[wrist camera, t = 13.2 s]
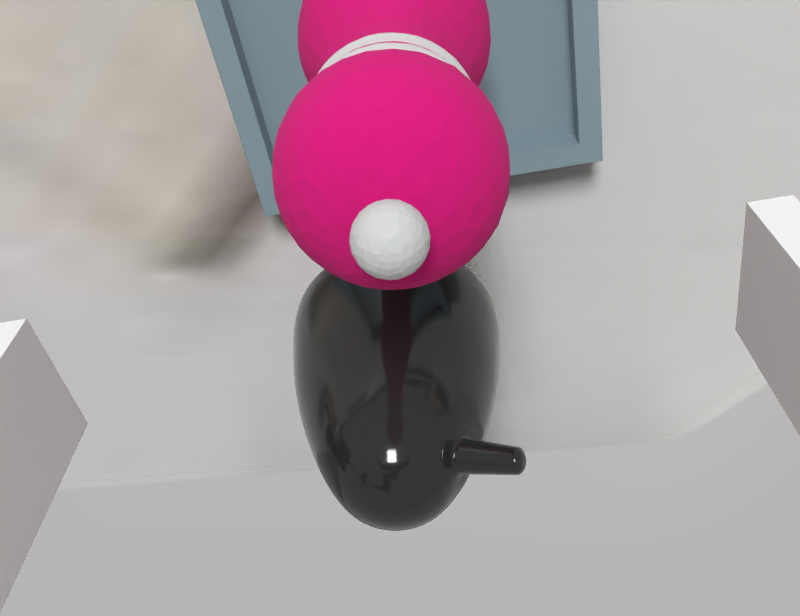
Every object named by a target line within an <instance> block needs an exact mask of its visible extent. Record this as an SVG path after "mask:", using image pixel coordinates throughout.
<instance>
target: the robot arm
mask: <svg viewBox="0 0 800 616" xmlns="http://www.w3.org/2000/svg"><path fill="white" fill-rule="evenodd" d="M736 331H737V333H738V334H739V336H740V338H741V339H742V341H743V343H744V344H745V346H746V348H747V349H748V351H749V353H750V354H751V356H752V358H753V359H754V361H755V363H756V364H757V366H758V368H759V369H760V371H761V372H762V374H763V376H764V377H765V379H766V381H767V382H768V384H769V386H770V387H771V389H772V391H773V392H774V394H775V396H776V397H777V399H778V401H779V402H780V404H781V406H782V407H783V409H784V410H785V412H786V414H787V416H788V417H789V419H790V420H791V422H792V424H793V425H794V427H795V429H796V430H797V432H798V434H799V435H800V202H799V201H798V200H797V198H796V197H795V196H794V195H790V196H784V197H778V198H772V199H766V200H759V201H753V202H747V206H746V217H745V228H744V240H743V251H742V262H741V273H740V285H739V296H738V307H737V318H736ZM87 424H88V423H87V421H86V420H85V418H84V416H83V415H82V413H81V411H80V409H79V408H78V406H77V404H76V403H75V401H74V399H73V397H72V396H71V394H70V392H69V391H68V389H67V387H66V385H65V384H64V382H63V380H62V379H61V377H60V375H59V373H58V372H57V370H56V368H55V367H54V365H53V363H52V361H51V360H50V358H49V356H48V355H47V353H46V351H45V349H44V348H43V346H42V344H41V343H40V341H39V339H38V337H37V336H36V334H35V332H34V331H33V329H32V327H31V325H30V324H29V322H28V320H27V319H21V320H15V321H9V322H2V323H0V612H1V610H2V608H3V605H4V603H5V601H6V599H7V597H8V595H9V592H10V590H11V588H12V586H13V584H14V582H15V579H16V577H17V575H18V573H19V571H20V568H21V566H22V564H23V562H24V560H25V558H26V556H27V553H28V551H29V549H30V547H31V545H32V543H33V541H34V538H35V536H36V534H37V532H38V530H39V527H40V525H41V523H42V521H43V519H44V517H45V515H46V512H47V510H48V508H49V506H50V504H51V502H52V499H53V497H54V495H55V493H56V491H57V489H58V487H59V484H60V482H61V480H62V478H63V476H64V474H65V471H66V469H67V467H68V465H69V463H70V461H71V459H72V456H73V454H74V452H75V450H76V448H77V446H78V443H79V441H80V439H81V437H82V435H83V433H84V430H85V428H86V426H87Z"/></svg>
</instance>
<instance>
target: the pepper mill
mask: <svg viewBox="0 0 800 616" xmlns="http://www.w3.org/2000/svg"><path fill="white" fill-rule="evenodd" d="M490 45H491V33H490V21H489V12H488V8H487V4H486V0H303V2H302V6H301V11H300V15H299V23H298V51H299V57H300V62H301V65H302V68H303V71H304V74H305V77H306V79H307V81H308V84H306V85H305V86H304V87H303V88H302V89H301V90H300V91H299V92H298V93H297V95H296V96H295V98H294V100H293V101H292V103H291V104H290V106H289V108H288V110H287V112H286V114H285V116H284V118H283V120H282V122H281V124H280V126H279V128H278V131H277V136H276V141H275V145H274V150H273V163H272V180H273V189H274V197H275V200H276V203H277V206H278V209H279V213H280V216H281V218H282V220H283V222H284V224H285V226H286V228H287V230H288V231H289V233H290V234H291V235H292V237H293V238H294V240H295V241H296V243H297V244H298V246H299V247H300V248H301V249H302V250H303V251H304V252H305V253H306V254H307V255H308V256H309V257H310V258H311V259H312V260H313V261H315V262H316V263H317V264H319V265H320V266H321V267H323V268H324V269H325V270H327V271H328V272H329V273H331V274H333V275H335V276H337V277H339V278H341V279H343V280H345V281H347V282H350V283H353V284H356V285H359V286H362V287H366V288H373V289H381V290H397V289H409V288H415V287H420V286H423V285H426V284H429V283H432V282H435V281H438V280H440V279H442V278H443V277H445V276H447V275H449V274H451V273H453V272H455V271H456V270H458V269H459V268H460V267H462V266H463V265H465V264H466V263H468V262H469V261H470V260H471V259H472V258H473V257H474V256H475V255H476V254H477V253H478V252H479V251H480V250H481V249H482V248H483V247H484V246H485V244H486V243H487V241H488V240H489V238H490V237H491V235H492V234H493V232H494V231H495V229H496V228H497V226H498V224H499V221H500V218H501V215H502V212H503V209H504V206H505V203H506V201H507V198H508V194H509V182H510V157H509V146H508V142H507V139H506V135H505V131H504V128H503V126H502V124H501V122H500V120H499V118H498V116H497V114H496V112H495V110H494V108H493V106H492V104H491V103H490V101H489V100H488V98H487V97H486V95H485V94H484V92H483V91H482V90H481V89H480V88H479V87H478V86H479V85H480V83H481V81H482V79H483V76H484V73H485V70H486V68H487V65H488V59H489V52H490Z"/></svg>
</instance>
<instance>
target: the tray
mask: <svg viewBox="0 0 800 616" xmlns="http://www.w3.org/2000/svg"><path fill="white" fill-rule="evenodd" d="M302 2H303V0H196V4H197V7H198V10H199V13H200V16H201V19H202V22H203V25H204V28H205V31H206V34H207V37H208V40H209V44H210V47H211V50H212V53H213V56H214V59H215V62H216V65H217V68H218V71H219V74H220V77H221V80H222V83H223V87H224V90H225V93H226V96H227V99H228V102H229V105H230V108H231V111H232V114H233V117H234V120H235V123H236V126H237V130H238V133H239V136H240V139H241V142H242V145H243V148H244V151H245V154H246V157H247V160H248V163H249V166H250V170H251V173H252V176H253V179H254V182H255V185H256V188H257V191H258V194H259V197H260V200H261V203H262V206H263V209H264V213H265V216H270V215H276V214H280V213H279V209H278V206H277V203H276V200H275V197H274V189H273V180H272V163H273V150H274V145H275V141H276V136H277V131H278V128H279V126H280V124H281V122H282V120H283V118H284V116H285V114H286V112H287V110H288V108H289V106H290V104H291V103H292V101H293V100H294V98H295V96H296V95H297V93H298V92H299V91H300V90H301V89H302V88H303V87H304V86H305V85H306V84H308V81H307V79H306V77H305V74H304V71H303V68H302V65H301V62H300V57H299V51H298V23H299V15H300V11H301V6H302ZM486 4H487V8H488V12H489V21H490V33H491V45H490V52H489V59H488V65H487V68H486V70H485V73H484V76H483V79H482V81H481V83H480V85H479V86H478V87H479V88H480V89H481V90H482V91H483V92H484V94H485V95H486V97H487V98H488V100H489V101H490V103H491V104H492V106H493V108H494V110H495V112H496V114H497V116H498V118H499V120H500V122H501V124H502V126H503V128H504V131H505V135H506V139H507V142H508V146H509V157H510V176H512V175H518V174H524V173H530V172H536V171H542V170H548V169H554V168H560V167H566V166H572V165H578V164H584V163H590V162H596V161H603V157H602V127H601V97H600V66H599V36H598V6H597V0H486Z"/></svg>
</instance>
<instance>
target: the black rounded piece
mask: <svg viewBox="0 0 800 616" xmlns="http://www.w3.org/2000/svg"><path fill="white" fill-rule="evenodd" d="M293 358H294V378H295V388H296V395H297V401H298V407H299V411H300V416H301V420H302V424H303V427H304V430H305V434H306V437H307V440H308V443H309V445H310V448H311V451H312V453H313V456H314V458H315V461H316V463H317V465H318V467H319V469H320V472H321V474H322V475H323V477H324V479H325V481H326V483H327V485H328V486H329V488H330V490H331V491H332V493H333V494H334V496H335V497H336V498H337V500H338V501H339V502H340V504H341V505H342V506H343V507H344V508H345V509H346V510H347V511H348V512H349V513H350V514H351V515H353V516H354V517H355V518H356V519H358V520H359V521H361V522H363V523H365V524H367V525H369V526H372V527H375V528H378V529H384V530H393V531H396V530H397V531H399V530H407V529H412V528H416V527H419V526H421V525H424V524H426V523H428V522H429V521H431V520H433V519H434V518H436V517H437V516H438V515H439V514H441V513H442V512H443V511H444V510H445V509H446V508H447V507H448V505H449V504H450V503H451V502H452V501H453V500H454V498H455V497H456V496H457V494H458V493H459V491H460V490H461V488H462V487H463V485H464V484H465V482H466V480H467V478H468V476H469V474H496V475H499V474H500V475H519V474H521V473H522V472H523V470H524V469H525V465H526V456H525V453H524V451H523V450H522V449H521V448H520V447H516V446H510V445H503V444H497V443H491V442H484V438H485V435H486V432H487V429H488V425H489V422H490V418H491V414H492V410H493V406H494V401H495V395H496V389H497V381H498V370H499V329H498V322H497V316H496V312H495V308H494V305H493V302H492V300H491V298H490V296H489V294H488V292H487V290H486V289H485V287H484V286H483V285H482V283H481V282H480V281H479V280H478V278H477V277H476V276H475V275H474V274H473V273H472V272H470V271H469V270H468V269H467V268H466V267H464V266H462V267H460V268H459V269H458V270H456V271H455V272H453V273H451V274H449V275H447V276H445V277H443V278H442V279H440V280H438V281H435V282H432V283H429V284H426V285H423V286H420V287H415V288H409V289H397V290H381V289H373V288H366V287H362V286H359V285H356V284H353V283H350V282H347V281H345V280H343V279H341V278H339V277H337V276H335V275H333V274H331V273H329V272H328V271H327V270H325V269H324V270H323V271H322V272H321V273H320V274H319V275H318V276H317V277H316V278H315V279H314V280H313V281H312V282H311V284H310V285H309V287H308V288H307V290H306V291H305V293H304V295H303V297H302V299H301V302H300V304H299V307H298V311H297V316H296V321H295V327H294V338H293Z"/></svg>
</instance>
